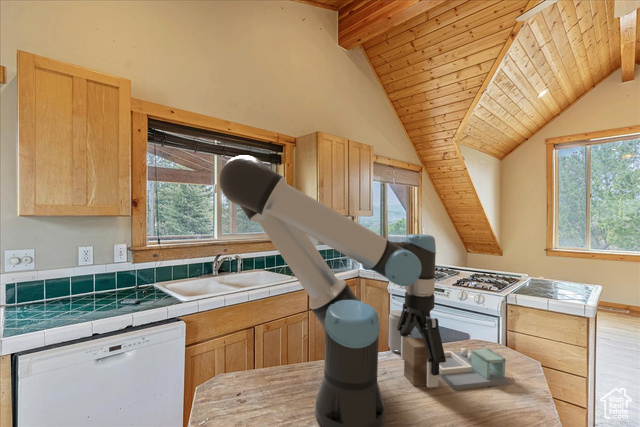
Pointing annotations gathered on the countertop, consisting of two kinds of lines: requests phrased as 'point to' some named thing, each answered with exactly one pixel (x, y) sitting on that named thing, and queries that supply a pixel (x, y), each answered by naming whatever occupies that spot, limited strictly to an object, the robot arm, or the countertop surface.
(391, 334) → the beverage can
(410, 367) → the block
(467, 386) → the jig board
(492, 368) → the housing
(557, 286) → the countertop surface
